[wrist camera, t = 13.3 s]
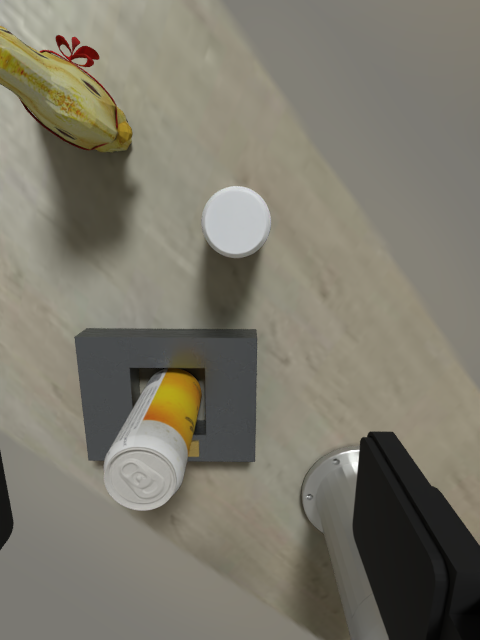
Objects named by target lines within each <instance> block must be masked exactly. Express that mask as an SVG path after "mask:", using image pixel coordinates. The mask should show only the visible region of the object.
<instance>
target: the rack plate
mask: <svg viewBox="0 0 480 640" xmlns="http://www.w3.org/2000/svg"><path fill="white" fill-rule="evenodd" d="M75 345H76V354H77V363H78V372H79V381H80V389H81V398H82V407H83V416H84V425H85V433H86V442H87V451H88V460H93V461H104V460H105V457H106V455H107V453H108V451H109V449H110V448H111V446H112V444H113V442H114V441H115V439H116V437H117V435H118V434H119V432H120V430H121V428H122V427H123V425H124V423H125V421H126V420H127V418H128V416H129V414H130V413H131V411H132V409H133V408H134V406H135V404H136V402H137V401H138V399H139V397H140V387H139V372H138V368H205V395H206V420H196V424H195V429H194V433H193V438H192V442H191V446H190V451H189V455H188V460H187V461H222V462H255V434H256V375H257V333H256V329H96V328H86V329H85V330H84V331H82V332H81V333H79V334H78V335H77V336H75Z"/></svg>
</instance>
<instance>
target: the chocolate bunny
mask: <svg viewBox="0 0 480 640" xmlns="http://www.w3.org/2000/svg"><path fill="white" fill-rule="evenodd" d="M56 42H57V45H58V47H59V50H60V46H61V45H62V44H64V45H65V46H66V47H67V48H68V49H69V51H70V52H71V49H70V47H69V44H68V43H67V41H66V40H65V38H64V37H63V36H60V35H57V36H56ZM79 44H80V41H79V40H78V39H77V38H76V37H72V52H71V56H70V57H67V56H66V55H64V53H63V52H62V51H61V50H60V51H61V53H62V54H63V55H64V56H65V57H66V58H67V59H68V60H69V61H68V60H67V59H65V58H64V57H62V56H61V55H59V54H57V53H55V52H53V51H49V50H42V51H40V52H38V51H36V50H35V49H33V48H31V47H29V46H27V45H26V44H24V43H23V42H22V41H21V40H19V39H18V38H17V37H16V36H14V35H13V34H12V33H10V32H9V31H8V30H7V29H5V28H4V27H2V26H0V84H1V85H3V86H4V87H6V88H8V89H9V90H11V91H12V92H13V93H14V94H16V95H17V96H18V97H19V99H20V101H21V102H22V104H23V105H24V107H25V109H26V110H27V111H28V112H29V113H30V115H31V116H32V117H33V118H34V119H35V120H36V121H37V122H39V123H40V124H41V125H42V126H43V127H44V128H46V129H47V130H49V131H50V132H51V133H53V134H54V135H56V136H57V137H59V138H60V139H62V140H63V141H65V142H67V143H69V144H71V145H73V146H76V147H78V148H81V149H84V150H93V149H96V150H98V151H99V152H110V153H111V152H117V151H123V150H127V148H128V147H129V145H130V144H131V142H132V141H131V137H132V129H131V127H130V126H129V124H128V122H127V120H126V117H125V115H124V113H123V112H122V111H121V110H120V109H119V108H118V107H117V106H116V104H115V102H114V100H113V98H112V97H111V96H110V94H109V93H108V92H107V91H106V90H105V88H104V87H103V86H102V85H101V84H100V83H99V82H98V81H97V80H96V79H95V78H93V77H92V76H91V75H90V74H89V73H87V72H86V71H84V70H83V69H82V68H80V67H78V66H77V65H78V64H76V65H75V63H73V62H72V61H71V60H73V59H75V58H87V63H86V64H85V65H79V66H83V67H90V66H92V65H93V64H94V61H93V60H92V59H95V60H98V59H99V55H98V53H97V52H96V51H95V50H94V49H92V48H90V47H88V46H82V47H80V48H79V49H78V50H77V51H76V52H75V53H74V55H73V56H72V54H73V51H74V49H75V47H76V46H77V45H79ZM51 53H54V54H56V55H58V56H60V57H61V58H63V59H61V58H59V57H57V56H55V55H53V54H51ZM64 59H65V60H64ZM71 62H72V63H71ZM76 66H77V67H76ZM79 68H80V69H81V70H83V71H84V72H85V73H87V74H88V75H89V76H90V77H91V78H93V79H94V80H95V81H96V82H97V83H96V82H95V81H94V80H93V79H91V78H90V77H89V76H88V75H86V74H85V73H84V72H83V71H81V70H80V69H79ZM100 86H101V87H102V88H103V89H104V90H105V91H104V90H103V89H102V88H101V87H100ZM107 94H108V95H109V96H108V95H107ZM110 98H111V99H112V100H111V99H110ZM27 107H28V108H29V109H30V110H29V109H28V108H27ZM31 112H32V113H33V114H34V115H35V116H36V117H37V118H38V119H39V120H40V121H41V122H40V121H39V120H38V119H37V118H36V117H35V116H34V115H33V114H32V113H31ZM45 125H46V126H47V127H46V126H45ZM48 127H49V128H50V129H49V128H48ZM52 130H53V131H54V132H53V131H52ZM55 132H56V133H57V134H56V133H55ZM59 135H60V136H59ZM62 137H63V138H62ZM71 142H72V143H71Z"/></svg>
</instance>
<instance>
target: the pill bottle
mask: <svg viewBox="0 0 480 640" xmlns="http://www.w3.org/2000/svg"><path fill="white" fill-rule="evenodd" d="M270 228H271V215H270V211H269V209H268V206H267V204H266V203H265V201H264V200H263V199H262V197H261V196H260V195H259V194H257V193H256V192H254V191H253V190H251V189H249V188H246V187H241V186H231V187H227V188H224V189H222V190H220V191H218V192H216V193H215V194H214V195H213V196H212V197H211V198H210V199H209V200H208V202H207V204H206V205H205V208H204V210H203V214H202V230H203V234H204V236H205V239H206V240H207V242H208V244H209V245H210V246H211V247H212V248H213V249H214V250H215V251H216V252H218V253H219V254H221V255H224V256H226V257H230V258H242V257H246V256H249V255H251V254H253V253H255V252H256V251H258V250H259V249H260V248H261V247H262V246H263V245H264V243H265V242H266V240H267V238H268V236H269V233H270Z"/></svg>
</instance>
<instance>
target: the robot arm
mask: <svg viewBox="0 0 480 640" xmlns="http://www.w3.org/2000/svg"><path fill="white" fill-rule="evenodd" d="M302 503H303V507H304V511H305V513H306V515H307V517H308V519H309V520H310V522H311V523H312V524H313V526H315V527H316V528H317V529H318V530H319V531H320V532H322V533H324V536H325V540H326V544H327V548H328V552H329V556H330V559H331V563H332V567H333V571H334V575H335V579H336V583H337V587H338V590H339V594H340V598H341V602H342V606H343V610H344V614H345V618H346V622H347V625H348V629H349V633H350V637H351V640H480V546H479V544H478V543H477V541H476V540H475V539H474V537H473V536H472V535H471V533H470V532H469V530H468V529H467V528H466V526H465V525H464V523H463V522H462V521H461V519H460V518H459V517H458V515H457V514H456V512H455V511H454V510H453V508H452V507H451V505H450V504H449V503H448V501H447V500H446V499H445V497H444V496H443V494H442V493H441V492H440V491H439V490H438V489H437V488H435V487H433V486H431V485H430V483H429V482H428V481H427V479H426V478H425V476H424V475H423V473H422V472H421V471H420V469H419V468H418V466H417V465H416V463H415V462H414V461H413V459H412V458H411V456H410V455H409V454H408V452H407V451H406V449H405V448H404V446H403V445H402V444H401V442H400V441H399V439H398V438H397V436H396V435H395V434H394V433H393V432H369V433H368V436H367V437H362V438H361V441H360V446H350V447H343V448H340V449H337V450H334V451H332V452H330V453H328V454H327V455H325V456H323V457H322V458H321V459H319V460H318V461H317V462H316V463H315V464H314V465H313V466H312V467H311V469H310V470H309V472H308V473H307V475H306V477H305V479H304V482H303V485H302ZM12 529H13V517H12V511H11V506H10V500H9V496H8V490H7V485H6V480H5V474H4V469H3V463H2V457H1V452H0V550H1V548H2V547H3V546H4V544H5V543H6V541H7V540H8V539H9V537H10V535H11V533H12Z"/></svg>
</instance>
